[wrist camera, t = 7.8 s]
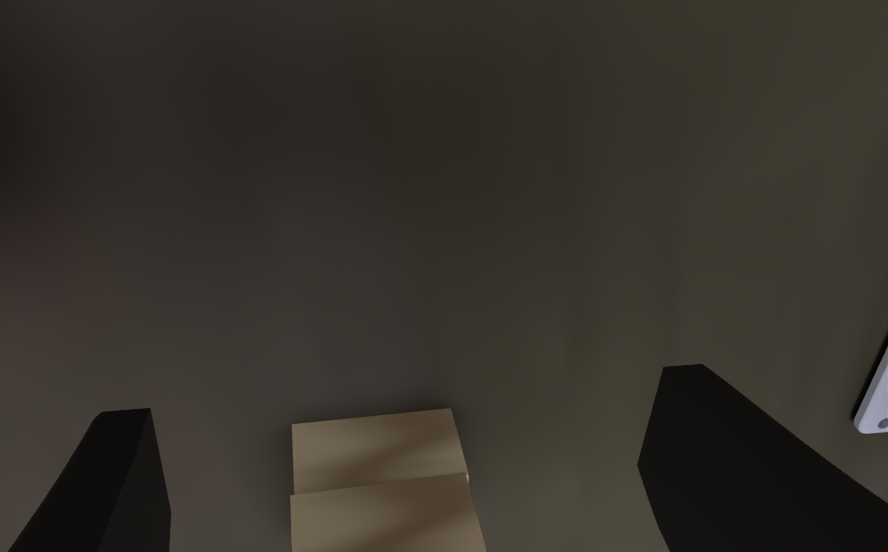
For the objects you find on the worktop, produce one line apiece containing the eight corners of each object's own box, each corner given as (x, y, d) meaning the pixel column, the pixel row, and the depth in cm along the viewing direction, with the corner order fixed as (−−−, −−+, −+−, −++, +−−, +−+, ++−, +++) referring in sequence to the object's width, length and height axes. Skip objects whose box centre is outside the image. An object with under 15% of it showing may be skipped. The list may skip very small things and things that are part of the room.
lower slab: (449, 404, 26) (468, 474, 24) (444, 508, 29) (461, 581, 26) (291, 420, 25) (294, 495, 23) (302, 525, 28) (305, 602, 26)
